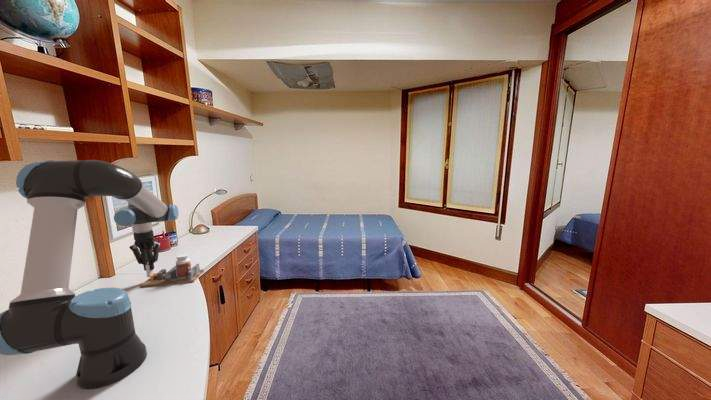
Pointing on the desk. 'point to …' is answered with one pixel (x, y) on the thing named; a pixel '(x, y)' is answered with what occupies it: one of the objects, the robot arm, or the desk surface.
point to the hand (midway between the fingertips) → (150, 275)
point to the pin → (155, 276)
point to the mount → (173, 277)
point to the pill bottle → (183, 265)
